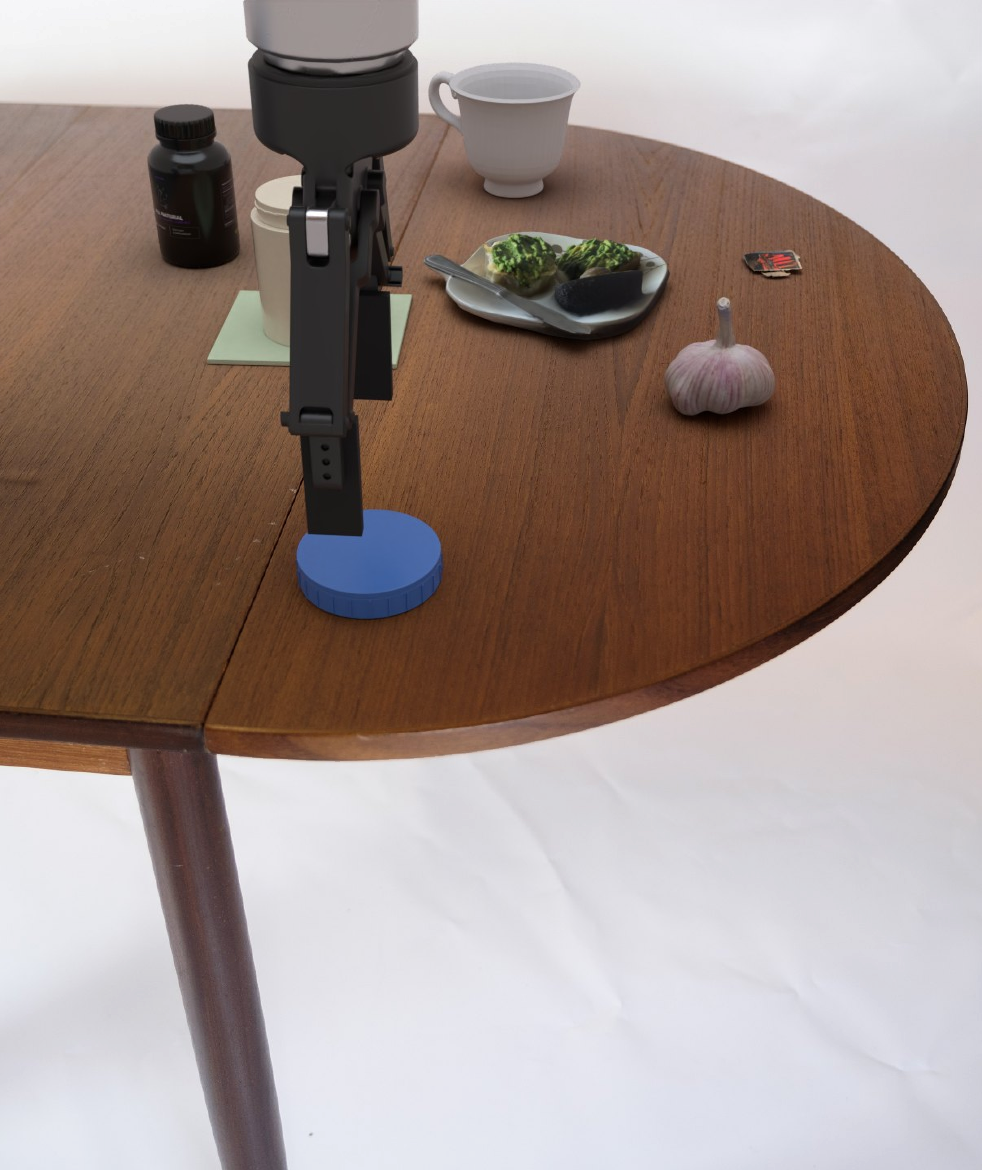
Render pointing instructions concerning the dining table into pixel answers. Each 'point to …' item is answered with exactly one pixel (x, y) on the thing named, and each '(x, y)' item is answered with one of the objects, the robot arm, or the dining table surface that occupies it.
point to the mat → (252, 346)
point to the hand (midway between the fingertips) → (354, 459)
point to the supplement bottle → (192, 188)
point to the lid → (371, 567)
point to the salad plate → (556, 284)
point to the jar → (273, 254)
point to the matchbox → (773, 262)
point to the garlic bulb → (719, 373)
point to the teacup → (509, 121)
